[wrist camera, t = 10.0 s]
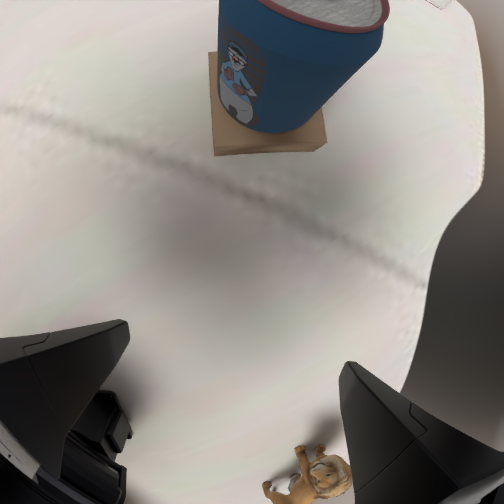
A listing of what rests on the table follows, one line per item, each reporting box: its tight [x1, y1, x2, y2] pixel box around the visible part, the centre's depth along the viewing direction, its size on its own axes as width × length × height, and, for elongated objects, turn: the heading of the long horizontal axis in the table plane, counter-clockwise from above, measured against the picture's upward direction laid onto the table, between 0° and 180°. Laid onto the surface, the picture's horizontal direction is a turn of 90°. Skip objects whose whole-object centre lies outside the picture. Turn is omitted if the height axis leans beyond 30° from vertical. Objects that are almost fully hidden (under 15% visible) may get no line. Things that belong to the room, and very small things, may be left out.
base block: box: [208, 52, 327, 156], centre depth 19 cm, size 8×8×3 cm
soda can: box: [217, 0, 390, 133], centre depth 11 cm, size 7×7×12 cm
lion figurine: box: [262, 445, 352, 504], centre depth 21 cm, size 15×5×9 cm, turn 162°
